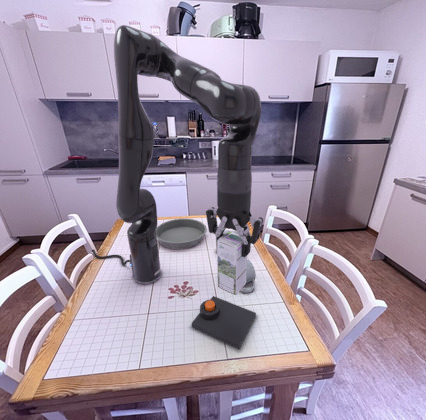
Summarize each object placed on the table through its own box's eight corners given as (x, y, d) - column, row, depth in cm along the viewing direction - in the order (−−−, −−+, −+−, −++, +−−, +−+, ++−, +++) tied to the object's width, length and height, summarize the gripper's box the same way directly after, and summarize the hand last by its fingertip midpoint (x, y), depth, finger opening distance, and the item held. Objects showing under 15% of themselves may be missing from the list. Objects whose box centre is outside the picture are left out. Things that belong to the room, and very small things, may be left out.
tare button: (203, 309, 70) (202, 305, 69) (208, 302, 72) (208, 298, 71) (211, 313, 68) (211, 309, 68) (216, 306, 71) (216, 302, 70)
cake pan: (183, 257, 99) (182, 248, 97) (144, 241, 111) (142, 232, 109) (216, 234, 118) (216, 226, 116) (180, 221, 130) (179, 214, 128)
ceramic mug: (226, 278, 87) (226, 261, 84) (245, 272, 91) (246, 255, 88) (239, 297, 79) (240, 279, 76) (260, 289, 82) (262, 272, 79)
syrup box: (246, 283, 63) (249, 236, 57) (235, 296, 59) (236, 247, 53) (229, 275, 66) (229, 230, 60) (216, 288, 61) (216, 239, 56)
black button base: (190, 326, 68) (189, 317, 66) (212, 299, 78) (211, 291, 76) (239, 350, 61) (239, 340, 60) (255, 316, 71) (256, 308, 70)
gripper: (271, 187, 52) (265, 252, 58) (214, 178, 58) (215, 238, 64) (259, 197, 45) (254, 268, 52) (197, 186, 51) (200, 251, 58)
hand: (232, 251), depth 58 cm, fingers closed on syrup box, 6 cm apart
